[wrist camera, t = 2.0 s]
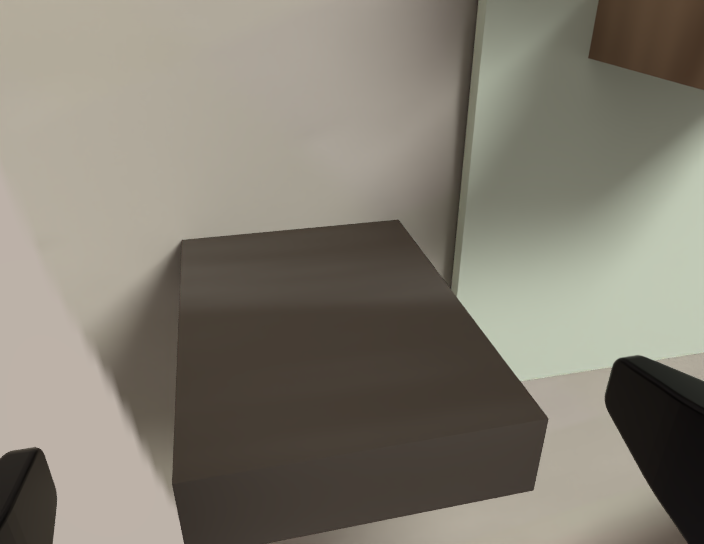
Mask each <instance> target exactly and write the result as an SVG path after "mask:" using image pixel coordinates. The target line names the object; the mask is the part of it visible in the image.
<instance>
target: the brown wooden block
mask: <svg viewBox="0 0 704 544" xmlns="http://www.w3.org/2000/svg"><path fill="white" fill-rule="evenodd" d="M588 58H589V59H593V60H597V61H600V62H604V63H607V64H611V65H615V66H618V67H622V68H625V69H629V70H633V71H636V72H640V73H643V74H647V75H651V76H654V77H658V78H661V79H665V80H669V81H672V82H676V83H679V84H683V85H687V86H690V87H694V88H697V89H701V90H704V0H599V1H598V7H597V12H596V18H595V23H594V29H593V34H592V40H591V45H590V51H589V56H588Z"/></svg>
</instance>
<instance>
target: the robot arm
mask: <svg viewBox="0 0 704 544" xmlns="http://www.w3.org/2000/svg"><path fill="white" fill-rule="evenodd" d="M605 404H606V408H607V410H608V412H609V414H610V416H611V418H612V420H613V421H614V423H615V425H616V427H617V429H618V431H619V432H620V434H621V436H622V438H623V440H624V441H625V443H626V445H627V447H628V449H629V451H630V452H631V454H632V456H633V458H634V460H635V461H636V463H637V465H638V467H639V469H640V471H641V472H642V474H643V476H644V478H645V479H646V481H647V483H648V484H649V486H650V488H651V489H652V491H653V493H654V494H655V496H656V497H657V499H658V500H659V502H660V503H661V505H662V506H663V508H664V509H665V511H666V512H667V514H668V515H669V516H670V518H671V519H672V521H673V522H674V524H675V525H676V527H677V528H678V530H679V531H680V533H681V534H682V536H683V537H684V538H685V540H686V541H687V543H688V544H704V381H702V380H700V379H697V378H695V377H692V376H690V375H688V374H685V373H683V372H680V371H678V370H676V369H673V368H671V367H668V366H666V365H664V364H661V363H659V362H656V361H654V360H652V359H649V358H647V357H644V356H641V355H634V356H627V357H621V358H618V359H617V360H616V361H615V362H614V363H613V366H612V370H611V373H610V377H609V381H608V385H607V389H606V393H605ZM56 507H57V495H56V488H55V485H54V482H53V479H52V476H51V473H50V470H49V467H48V464H47V461H46V459H45V455H44V453H43V452H42V450H41V449H39V448H36V447H34V448H27V449H21V450H14V451H10V452H8V453H6V454H5V455H3V456H2V458H0V544H53V535H54V526H55V525H54V524H55V516H56Z"/></svg>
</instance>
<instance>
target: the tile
mask: <svg viewBox="0 0 704 544" xmlns="http://www.w3.org/2000/svg"><path fill="white" fill-rule="evenodd" d="M547 424H548V417H547V416H546V415H545V413H544V412H543V411H542V409H541V408H540V407H539V405H538V404H537V403H536V402H535V400H534V399H533V398H532V396H531V395H530V394H529V392H528V391H527V390H526V388H525V387H524V386H523V384H522V383H521V382H520V380H519V379H518V378H517V376H516V375H515V374H514V372H513V371H512V370H511V368H510V367H509V366H508V364H507V363H506V362H505V360H504V359H503V358H502V356H501V355H500V354H499V352H498V351H497V350H496V348H495V347H494V346H493V345H492V343H491V342H490V341H489V339H488V338H487V337H486V335H485V334H484V333H483V331H482V330H481V329H480V327H479V326H478V325H477V323H476V322H475V321H474V319H473V318H472V317H471V315H470V314H469V313H468V311H467V310H466V309H465V307H464V306H463V305H462V303H461V302H460V301H459V299H458V298H457V297H456V295H455V294H454V293H453V291H452V290H451V289H450V288H449V286H448V285H447V284H446V282H445V281H444V280H443V278H442V277H441V276H440V274H439V273H438V272H437V270H436V269H435V268H434V266H433V265H432V264H431V262H430V261H429V260H428V258H427V257H426V256H425V254H424V253H423V252H422V250H421V249H420V248H419V246H418V245H417V244H416V242H415V241H414V240H413V238H412V237H411V236H410V235H409V233H408V232H407V231H406V229H405V228H404V227H403V225H402V224H401V223H400V221H399V220H391V221H380V222H369V223H359V224H348V225H337V226H327V227H316V228H305V229H295V230H284V231H273V232H263V233H252V234H241V235H231V236H220V237H209V238H199V239H188V240H182V251H181V276H180V301H179V326H178V351H177V376H176V401H175V426H174V450H173V475H172V486H173V491H174V496H175V501H176V505H177V510H178V515H179V520H180V525H181V530H182V535H183V540H184V544H266V543H271V542H276V541H281V540H286V539H291V538H296V537H301V536H306V535H311V534H316V533H321V532H326V531H331V530H336V529H341V528H347V527H352V526H357V525H362V524H367V523H372V522H377V521H382V520H387V519H392V518H397V517H402V516H407V515H412V514H417V513H422V512H427V511H432V510H437V509H442V508H447V507H452V506H457V505H462V504H467V503H472V502H477V501H482V500H487V499H492V498H497V497H502V496H507V495H513V494H518V493H523V492H528V491H533V490H534V485H535V481H536V476H537V471H538V466H539V462H540V457H541V452H542V447H543V443H544V438H545V433H546V428H547Z"/></svg>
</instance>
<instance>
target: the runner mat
mask: <svg viewBox="0 0 704 544" xmlns="http://www.w3.org/2000/svg"><path fill="white" fill-rule="evenodd" d="M598 1H599V0H478V11H477V21H476V32H475V42H474V53H473V64H472V74H471V85H470V95H469V106H468V117H467V127H466V138H465V148H464V159H463V169H462V180H461V191H460V201H459V212H458V222H457V233H456V244H455V254H454V265H453V275H452V286H451V290H452V291H453V293H454V294H455V295H456V297H457V298H458V299H459V301H460V302H461V303H462V305H463V306H464V307H465V309H466V310H467V311H468V313H469V314H470V315H471V317H472V318H473V319H474V321H475V322H476V323H477V325H478V326H479V327H480V329H481V330H482V331H483V333H484V334H485V335H486V337H487V338H488V339H489V341H490V342H491V343H492V345H493V346H494V347H495V348H496V350H497V351H498V352H499V354H500V355H501V356H502V358H503V359H504V360H505V362H506V363H507V364H508V366H509V367H510V368H511V370H512V371H513V372H514V374H515V375H516V376H517V378H518V379H519V380H520V381H526V380H533V379H539V378H546V377H552V376H558V375H565V374H571V373H577V372H584V371H590V370H596V369H603V368H609V367H612V366H613V363H614V362H615V361H616V360H617V359H618V358H621V357H627V356H634V355H641V356H644V357H647V358H649V359H652V360H660V359H666V358H673V357H679V356H685V355H692V354H698V353H704V90H701V89H697V88H694V87H690V86H687V85H683V84H679V83H676V82H672V81H669V80H665V79H661V78H658V77H654V76H651V75H647V74H643V73H640V72H636V71H633V70H629V69H625V68H622V67H618V66H615V65H611V64H607V63H604V62H600V61H597V60H593V59H589V58H588V56H589V51H590V45H591V40H592V34H593V29H594V23H595V18H596V12H597V7H598Z"/></svg>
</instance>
